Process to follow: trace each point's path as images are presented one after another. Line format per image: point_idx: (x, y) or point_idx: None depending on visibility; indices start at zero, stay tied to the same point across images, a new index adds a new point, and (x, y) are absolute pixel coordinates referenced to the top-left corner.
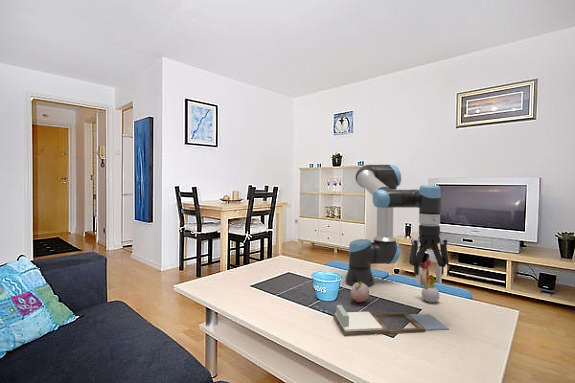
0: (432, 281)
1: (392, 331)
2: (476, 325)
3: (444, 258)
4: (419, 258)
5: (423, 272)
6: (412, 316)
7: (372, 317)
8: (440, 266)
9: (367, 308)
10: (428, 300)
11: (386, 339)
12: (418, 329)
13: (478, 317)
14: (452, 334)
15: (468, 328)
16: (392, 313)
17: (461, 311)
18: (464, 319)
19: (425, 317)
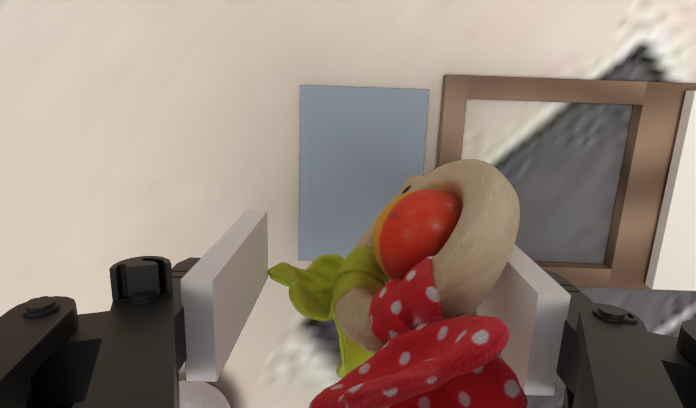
0: (303, 277)
1: (630, 81)
2: (125, 109)
3: (23, 386)
4: (674, 403)
5: (508, 229)
6: None
7: (675, 216)
8: (189, 303)
9: None
10: (219, 391)
11: (690, 27)
12: (483, 77)
13: (55, 193)
14: (316, 32)
15: (189, 83)
16: None
17: (103, 270)
18: (145, 182)
19: (347, 220)
